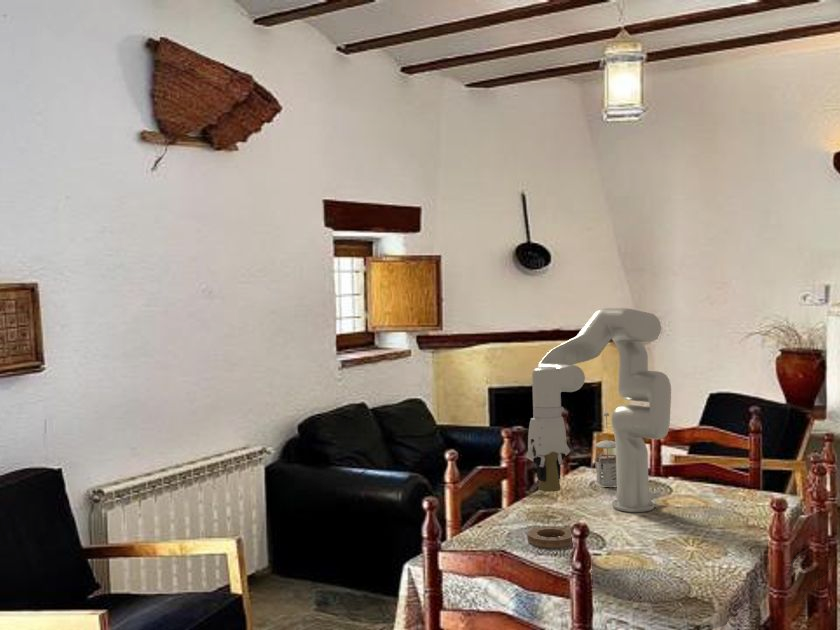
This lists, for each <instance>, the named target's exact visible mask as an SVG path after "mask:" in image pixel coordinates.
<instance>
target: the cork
mask: <svg viewBox="0 0 840 630" xmlns="http://www.w3.org/2000/svg"><path fill="white" fill-rule="evenodd" d="M539 458H540V457H539ZM557 459H558V453H556V452H551V453H550V454H548V455H546V456H545V462H544V467H546V481H545V482H543V481H540V480H538V488H537V489H538V490H539V491H540V492H546V493H550V492H554V493H555V492H559V491H560V490H562V489H561V488H562V487H561V483H560V482H561V481H560V479H559V475H558V469H557V463H556V461H557Z"/></svg>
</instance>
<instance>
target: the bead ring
mask: <svg viewBox="0 0 840 630" xmlns="http://www.w3.org/2000/svg"><path fill="white" fill-rule="evenodd" d="M571 530H572V529H570V528H567V527H564V526H562V527H561V526H556V525H553V526H550V525H547V526H539V527H537V526H536V527H533V528H531V529H530V530H528V531H527V534H526V535H527V537H526V538H527V541H528V544H530V543H531V544H530V545H532V546H534V545H535V546H534V547H538V546H539V548H547V549H554V548H555V549H558V548H564V547H568V546H571V544H572V537H571ZM551 535H554V536H551ZM542 536H544V537H542ZM557 536H560V537H557ZM572 545H573V544H572Z"/></svg>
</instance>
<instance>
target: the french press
mask: <svg viewBox="0 0 840 630" xmlns="http://www.w3.org/2000/svg"><path fill="white" fill-rule="evenodd" d="M609 416H610V414H609V412H604V413H603V417H605V419H606V424H605V425H606V428H608V417H609ZM594 446H595V447H596V448H598V449H604V450H605V449H606V454H605V452H604V451H602V452H600V450H598V451H597V453H596V454H595V458H594V466H595V470H596V481H595V482H594V483H595V484H596V485H599V486H605V487H613V486H617V474H616V454H609V450H610V449H616V444H615V440H614V441H613V440H609V439H605V440H601V441H598V442H597V443H596V444H595V445H594ZM598 454H599V455H598Z"/></svg>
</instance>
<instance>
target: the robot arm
mask: <svg viewBox="0 0 840 630" xmlns="http://www.w3.org/2000/svg"><path fill="white" fill-rule="evenodd" d="M661 330H662V324H661V321H660V320H659V318H658V317H657V315H655V314H654V313H650V312H646V311H642V310H639V309H638V310H637V309H633V308H625V307H623V308H620V307H619V308H617V307H615V308H601V309H599V310H596V311H595V312H594V313H593V315H591V317H590V318H589V319H588V320H587V322H586V323H585V325H584V326H583V327H582V328H581V330H579V332H578V333H577V335H576V336H574V337H572V338H570V339H569V340H566V341H565V342H563V343H560V344H559V345H558V346H556V347H554V348H552V349H550V350H549V352H547V353H546V354H545V356H544V357H543V358H542V359H541V361H540V362H538V364H537V366H536V367H535V368H534V369H533V370H532V373H531V375H532V377H531V380H532V381H531V382H532V383H531V384H532V410H533V411H532V415H533V417H531V418H530V421H529V426H528V433H527V434H528V435H527V438H528V439H527V450H528V451H527V452H526V454H525V457H526V458H527V459H529V460H530V461H531V462H533V464H534V466H536V478H537V480H538V481H539V480H540V481H543V482H545V481H546V467H544V462H545V456H546V455H548V454H550V453H551V452H556V453H558V459H557V461H556V463H557V469H558V475H559V480H561V474H562V472H561V471H562V470H561V469H562V468H561V465H562V464H563V461H564V459H565V458H566V456H568V454H569V453H570V452H571V448H569V446H568V444H567V431H566V430H567V429H566V425H565V420H564V417H563V416H562V412H564V411H565V408H564V406H562V396H561V395H562V394H561V393H562V392H564V393H565V392H566V393H573V392H577V391H579V390H580V389H581V388H582V387H583V385H584V384H585V379H586V376H585V372H584V371H583V369H582V368H580V366H577V365H576V364H580V363H585V362H588V361H591V360H594V359H595V358H598V357H599V356H600V355H601V353H602V352H603V351H604V349H606V347H607V345H608V344H609V343H610V342H611V341H613V343H614V345H615V346H616V349H617V351H618V355H619V365H618V366H619V367H618V394H619V396H620V397H621V398H622V399H624V400H627V401H631V402H642V403H648V405H649V406H643V405H633V404H624V405H623V404H622V405H619V406H617V407H616V408H615V409H614V411H612V414H611V427H612V431H613V435H614V442H615V444H616V448H615V455H616V474H617V488H616V499H614V500H613V501H612V503H611V506H612V508H613V509H615V510H617V511H621V512H626V513H627V512H628V513H644V512H649V511H651V510H654V509H655V503H654V502H653V500H654V499H658V498H661V496H662V494H661V491H653V492H652V491H651V490H649V453H648V448H647V444H646V443H645V441H644V439H649V440H661V439H664V438H665V437H666V436H667V435H668V432H669V431H670V425H671V424H670V422H671V405H672V404H671V403H672V386H671V381H670V378H669V377H668V376H667V374H665V373H664V372H662V371H658V370H657V371H656V370H649V367H648V366H649V365H648V363H649V356H648V352H647V351H648V350H647V349H646V347H645V345H644V344H643V342H644V343H645V342H646V343H647V342H648V343H650V342H654V341H655V340H656V339H658V338H659V336H660V334H661ZM534 454H535V455H534ZM539 457H540V458H539Z"/></svg>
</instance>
